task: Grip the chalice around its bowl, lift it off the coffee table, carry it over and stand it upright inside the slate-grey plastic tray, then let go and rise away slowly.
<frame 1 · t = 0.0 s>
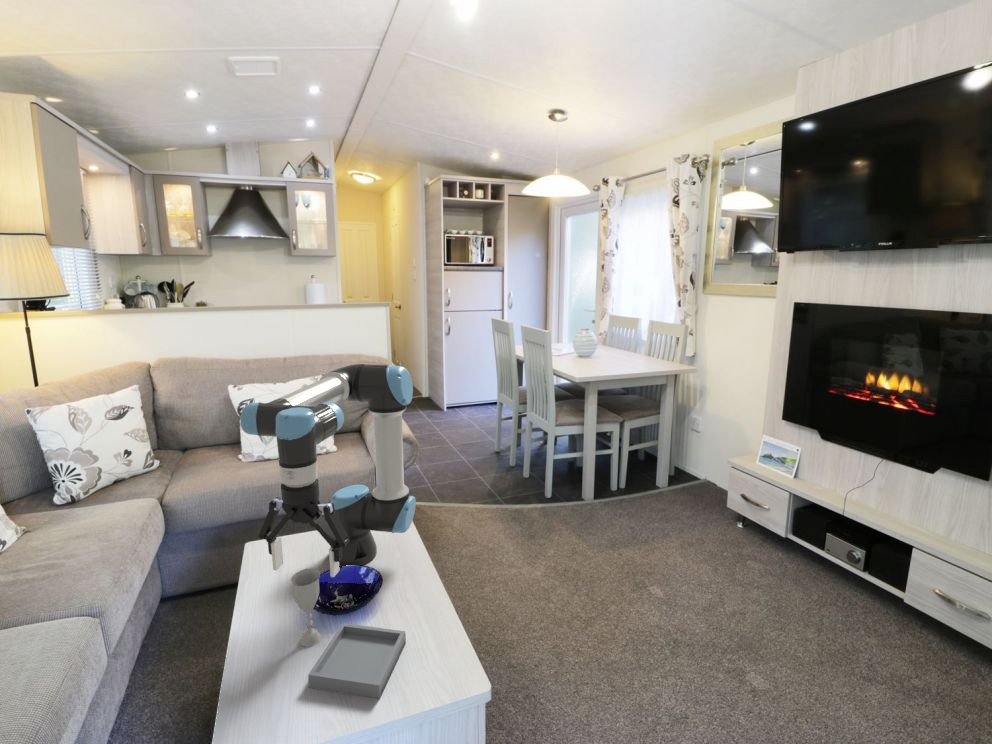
hand: (306, 570, 111), 28 cm above the table, tool pointing down, fingers open, 13 cm apart
chalice: (310, 640, 129), on the table
tray: (360, 664, 121), on the table
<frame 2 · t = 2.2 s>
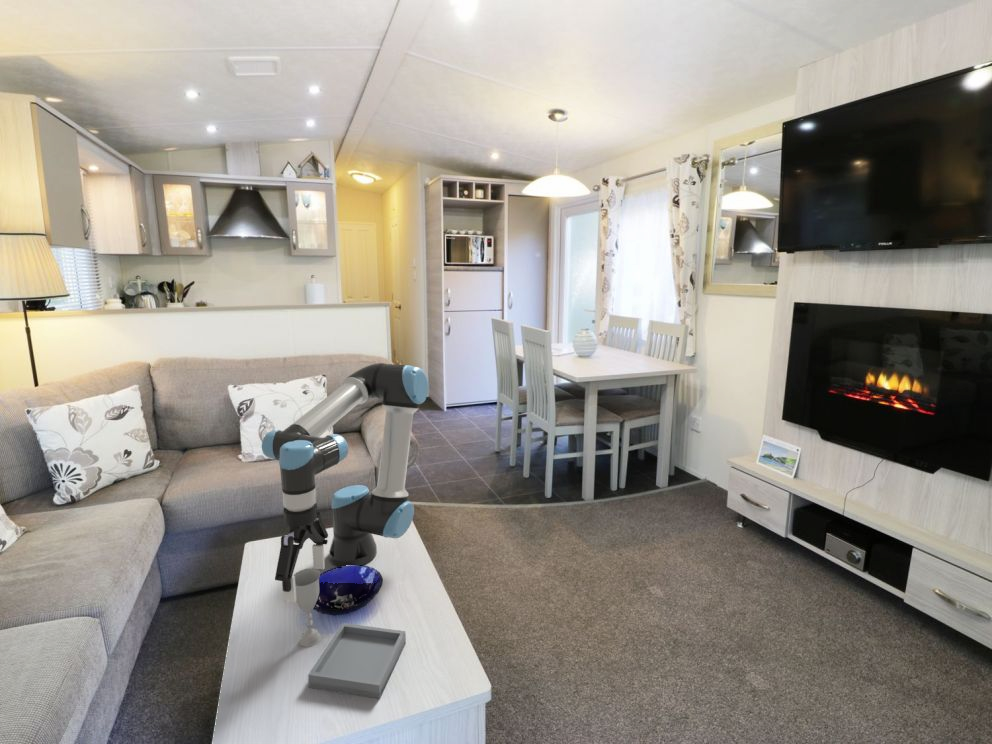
hand: (305, 583, 125), 16 cm above the table, tool pointing down, fingers open, 13 cm apart
nothing on the table moved.
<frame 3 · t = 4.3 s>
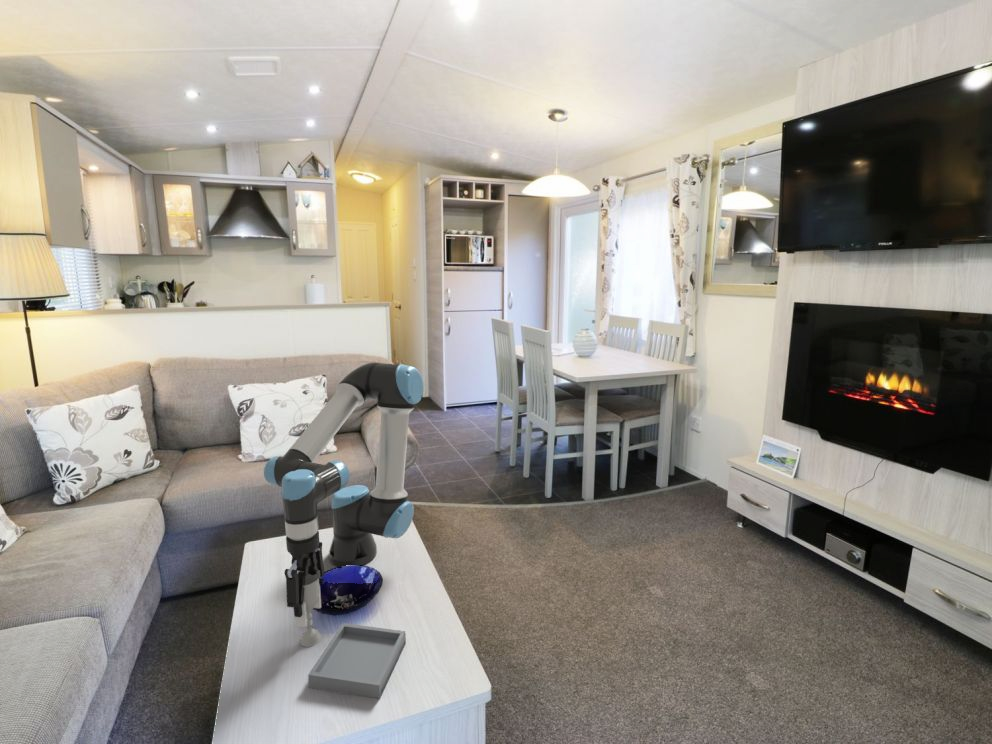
hand: (308, 615, 127), 7 cm above the table, tool pointing down, fingers closed on chalice, 6 cm apart
chalice: (310, 640, 129), on the table, touching gripper
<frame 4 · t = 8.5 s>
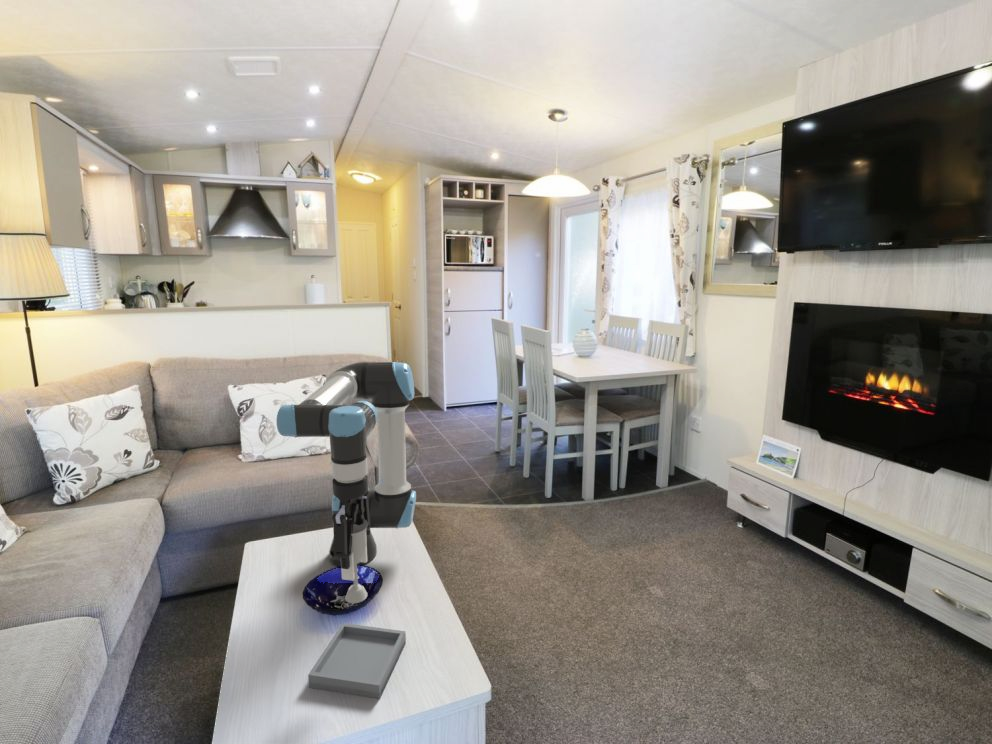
hand: (355, 569, 116), 25 cm above the table, tool pointing down, fingers closed on chalice, 6 cm apart
chalice: (356, 597, 117), point 18 cm above the table, touching gripper
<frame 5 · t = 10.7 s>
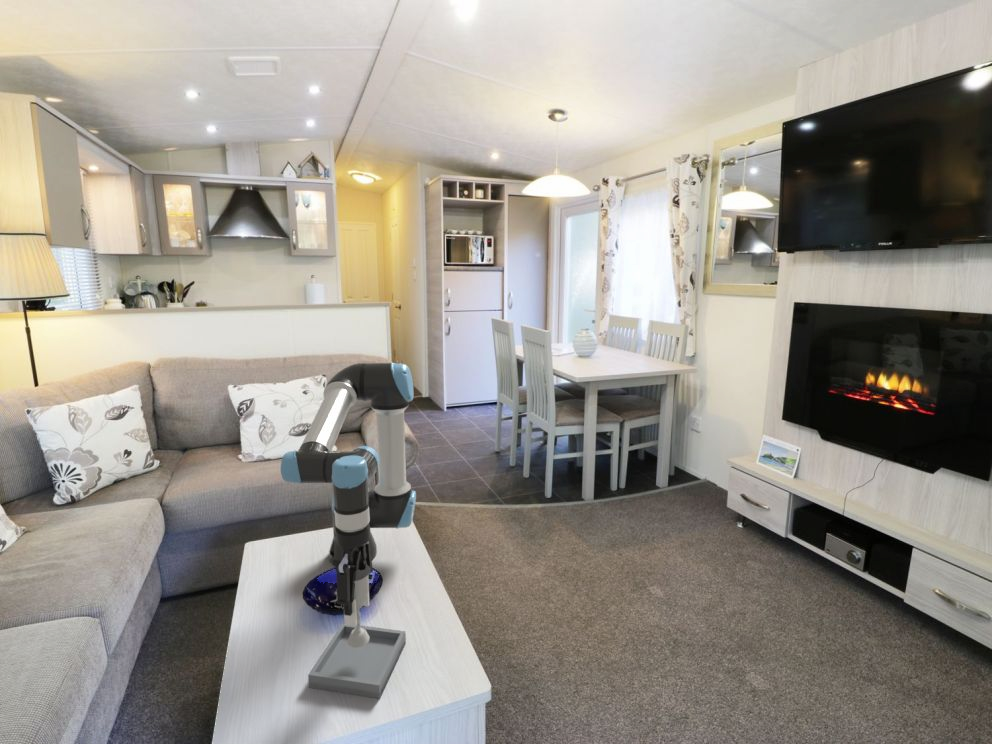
hand: (357, 614, 118), 14 cm above the table, tool pointing down, fingers closed on chalice, 6 cm apart
chalice: (358, 640, 120), point 7 cm above the table, touching gripper
when the fingers open (9 cm above the table, at t = 12.7 s): chalice stays where it is, resting on tray.
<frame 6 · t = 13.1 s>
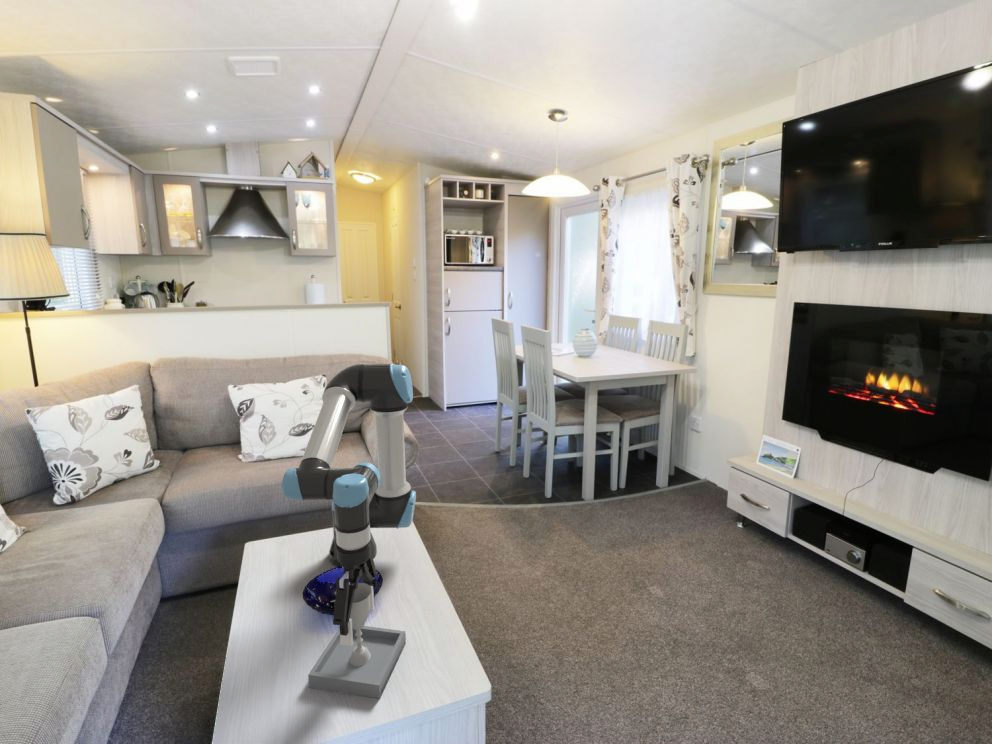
hand: (358, 626, 119), 11 cm above the table, tool pointing down, fingers open, 11 cm apart
chalice: (360, 658, 121), point 1 cm above the table, touching tray
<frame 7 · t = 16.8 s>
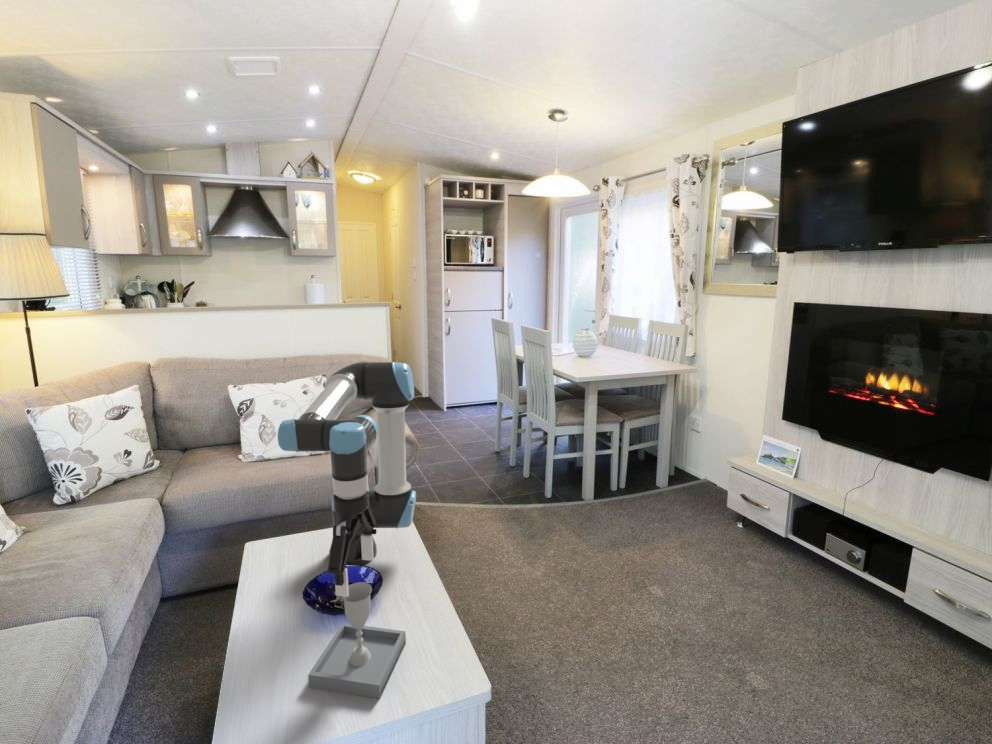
hand: (355, 576, 117), 23 cm above the table, tool pointing down, fingers open, 13 cm apart
nothing on the table moved.
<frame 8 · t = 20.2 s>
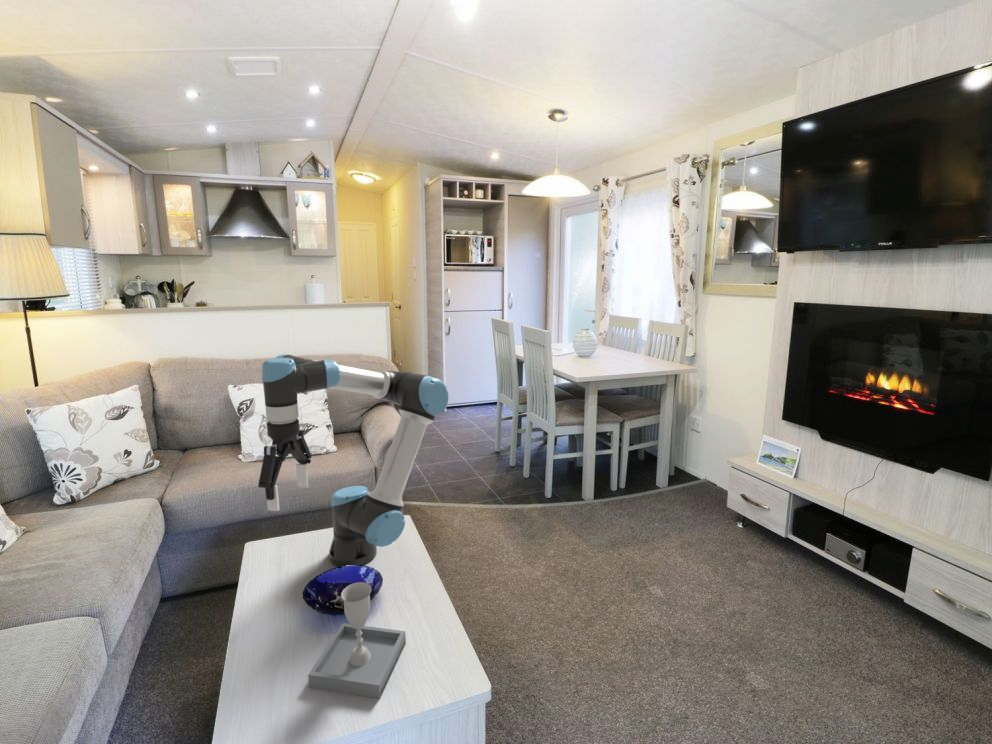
hand: (289, 498, 131), 35 cm above the table, tool pointing down, fingers open, 13 cm apart
nothing on the table moved.
at the end: chalice inside the target area on the tray (0.3 cm from its centre), point 1.3 cm above the tray's base; chalice tilted 0°; the gripper is holding nothing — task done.
